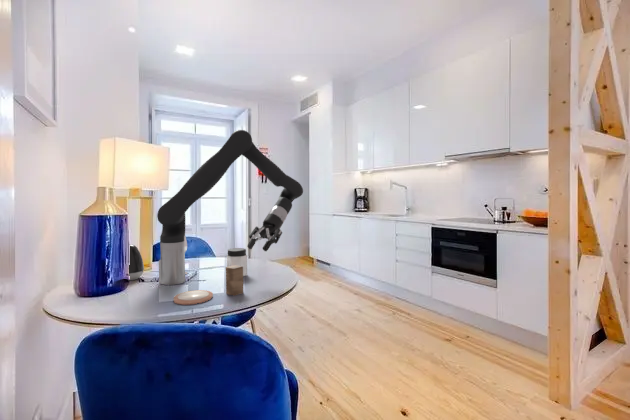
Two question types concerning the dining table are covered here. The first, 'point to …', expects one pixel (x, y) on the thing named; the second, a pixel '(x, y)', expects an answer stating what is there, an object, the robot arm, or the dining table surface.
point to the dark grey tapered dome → (135, 263)
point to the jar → (237, 258)
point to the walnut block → (234, 280)
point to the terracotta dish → (193, 297)
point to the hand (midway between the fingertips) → (256, 249)
